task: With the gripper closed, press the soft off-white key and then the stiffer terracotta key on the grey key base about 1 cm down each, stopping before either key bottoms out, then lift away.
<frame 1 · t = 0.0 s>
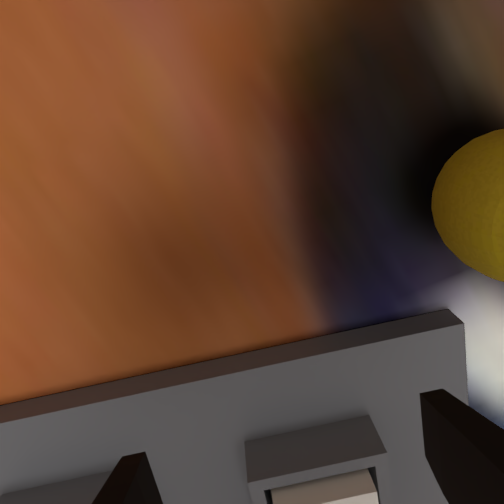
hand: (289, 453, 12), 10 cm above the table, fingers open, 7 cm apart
lemon: (460, 184, 21), on the table
grey key base: (201, 478, 25), on the table
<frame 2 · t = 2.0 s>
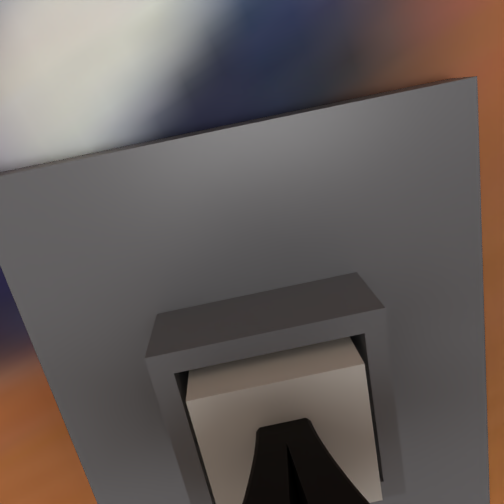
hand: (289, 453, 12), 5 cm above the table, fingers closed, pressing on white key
white key: (284, 427, 13), point 4 cm above the table, slide at 0.2 cm, touching gripper
grey key base: (296, 481, 18), on the table
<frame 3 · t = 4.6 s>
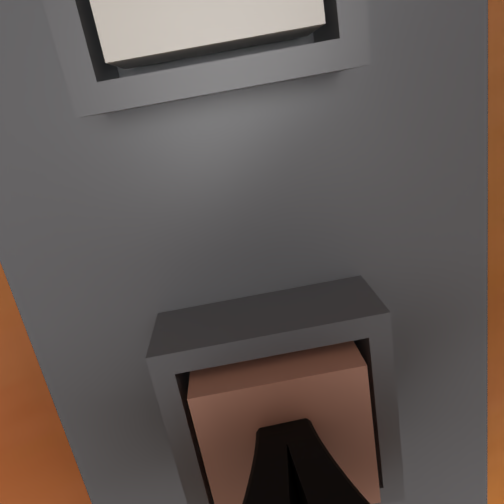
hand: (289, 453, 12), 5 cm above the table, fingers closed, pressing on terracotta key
terracotta key: (284, 427, 13), point 4 cm above the table, slide at 0.3 cm, touching gripper
grey key base: (240, 190, 14), on the table
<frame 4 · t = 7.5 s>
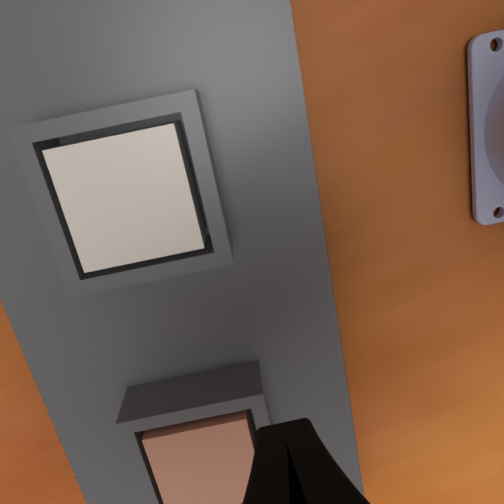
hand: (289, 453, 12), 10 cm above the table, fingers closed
white key: (132, 195, 17), point 3 cm above the table, slide at 0.8 cm
terracotta key: (206, 453, 20), point 3 cm above the table, slide at 0.8 cm
grey key base: (180, 304, 22), on the table
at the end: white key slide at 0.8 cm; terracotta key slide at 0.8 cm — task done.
